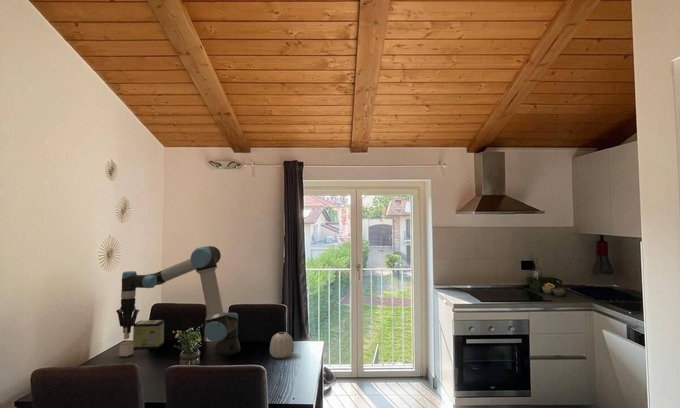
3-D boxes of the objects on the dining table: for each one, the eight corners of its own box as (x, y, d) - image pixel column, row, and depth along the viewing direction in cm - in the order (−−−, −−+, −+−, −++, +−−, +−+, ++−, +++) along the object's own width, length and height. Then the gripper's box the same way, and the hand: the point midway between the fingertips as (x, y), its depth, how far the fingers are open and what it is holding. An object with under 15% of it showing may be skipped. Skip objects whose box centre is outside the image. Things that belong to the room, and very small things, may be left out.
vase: (281, 351, 233) (281, 328, 234) (298, 355, 225) (298, 332, 226) (264, 357, 222) (264, 333, 223) (281, 362, 214) (282, 337, 215)
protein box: (138, 344, 249) (139, 320, 250) (164, 344, 251) (164, 319, 252) (132, 349, 239) (132, 324, 240) (158, 348, 240) (159, 323, 241)
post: (129, 355, 227) (130, 343, 227) (126, 357, 224) (127, 344, 225) (125, 355, 227) (125, 343, 228) (122, 356, 224) (123, 344, 225)
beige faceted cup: (133, 353, 228) (133, 341, 229) (127, 356, 223) (128, 344, 223) (124, 353, 228) (125, 341, 229) (119, 355, 223) (119, 344, 224)
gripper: (142, 296, 231) (141, 337, 230) (122, 296, 232) (120, 336, 231) (134, 299, 224) (133, 340, 222) (113, 298, 225) (111, 340, 223)
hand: (126, 338), depth 226 cm, fingers closed
